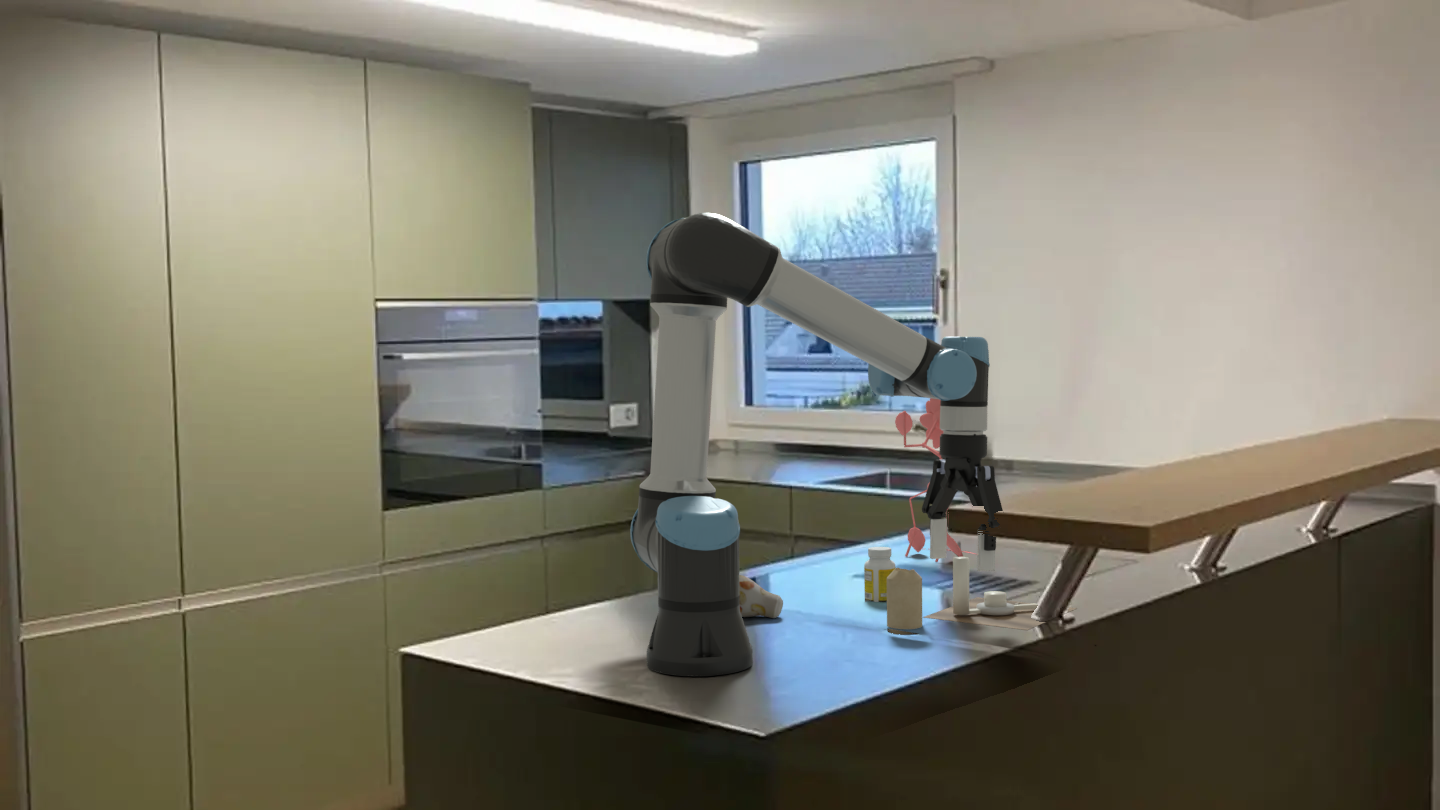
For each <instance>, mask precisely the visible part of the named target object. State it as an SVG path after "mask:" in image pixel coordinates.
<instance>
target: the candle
mask: <svg viewBox="0 0 1440 810" xmlns="http://www.w3.org/2000/svg"><path fill="white" fill-rule="evenodd" d="M886 626H887V627H888V628H886V629H887V630H886V631H887V632H888V633H889V634H892V633H893V634H892V635H899V634H900V635H899V636H911V635H912V636H913V635H919V634H920V632H914V631H913V632H912V631H906V630H916V629H919V628H922V627H923V577H922V576H921V575H920V574H919V573H918V572H917V571H916V570H915V569H913V568H912V569H908V568H907V569H906V568H900V567H896V569H894V570H893V571H892V572H891V574H890V575H889V576H888V577H887V602H886Z"/></svg>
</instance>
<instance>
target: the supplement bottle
mask: <svg viewBox="0 0 1440 810" xmlns="http://www.w3.org/2000/svg"><path fill="white" fill-rule="evenodd" d="M867 554H868V555H867V556H868V558H869V559H868V560H867V561H865V562H864V567H863V568H864V569H863V571H864V572H863V573H864V574H863V575H864V578H863V579H864V583H863V585H864V603H866V602H874V603H887V577H888V576H889V575H890V574H891V572H892V571H893V570H894V569H896V568H897V566H896V562H895V561H894V560H892V559H891V557H892V554H893V553H892V548H891V547H888V546H872V547H868V548H867Z"/></svg>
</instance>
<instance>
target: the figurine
mask: <svg viewBox="0 0 1440 810" xmlns="http://www.w3.org/2000/svg"><path fill="white" fill-rule="evenodd" d="M940 401H941V400H939V399H933V398H929V400H927V401H926V402H925V411H926V413H924V414H921V415H920V416H919V422H920V424H921V425H922V427H924V428H926V431H925V440H924V442H922V443H915V444H907V434H908V433H909V432H911V430H912V427H913V425H914V424H913V419H912V416H911V415H910V414H909V413H908V412H907V411H906V410H903V411H902V412H899V413H897V415H896V417H895V420H894V424H895V428H896V429H897V431H898V432H899V434H900V435H901V436H903V448H917V447H918V448H919V447H922V448H924V449H927V450H928V451H930V452H931V453H933V455H935V456H937V457H938V458H939V459H938V460H943V457H942V456H941V455H940V450H939V451H938V450H936V449H940V436H941V434H943V433H944V432H943V430H941V429H940ZM929 440H931V441H932V447H930V446H929V445H927V444H928V442H929ZM929 483H930V481H929V482H928V483H927V488H926V489H925V490H923V491H920V493H917V494H915V495H912V496H911V497H909V499H908V500H909V507H910V513H911V519H912V523H913V527H912V528H909V531H908V533H907V541H908V543H909V544H908V547H907V549H906V552H905V554H904V557H906V558H907V557H908V556H909V554H910V550H911V548H913V549H914V550H915V552H916V553H919V552H921V551H922V550H923V549H924V547H925V546H926V537H925V535H924V532H923V531H922V529H920V528H918V527H916V526H917V525H916V520H915V515H914V509H913V504H912V500H913V499H914V498H917V497H918V496H920V495H922V494H924V493H927V489H928V486H929ZM949 508H950V506H949V507H948V509H949ZM948 509H947V510H948ZM949 510H950V509H949ZM948 533H949V531H948V532H947V548H948V552H949V551H952V553H954V555H956V557H964V554H963V553H969V554H973V555H977V556H978V553H975V552H970V551H966V550H962V549H961V548H960V545H959V544H958V543H957V542H956V541H955V539H954V538H953V537H952V536H951V535H949V534H948ZM934 562H935V563H938V562H939V559H934Z"/></svg>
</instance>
